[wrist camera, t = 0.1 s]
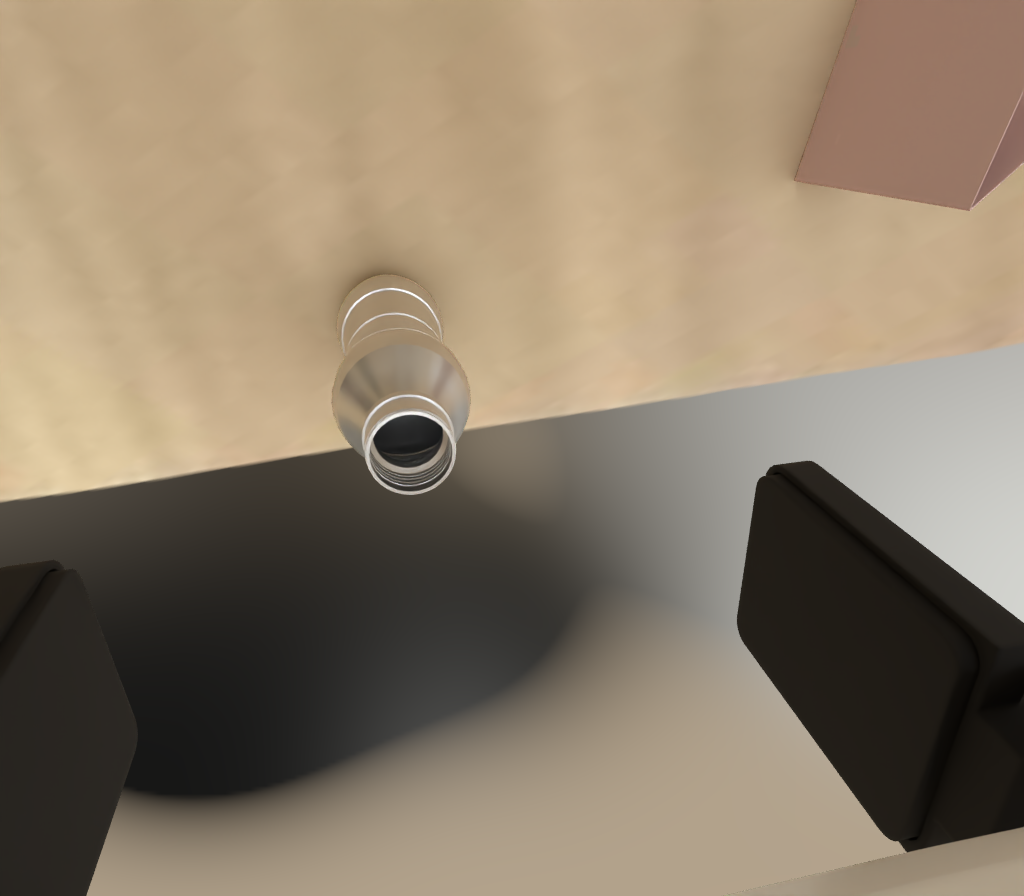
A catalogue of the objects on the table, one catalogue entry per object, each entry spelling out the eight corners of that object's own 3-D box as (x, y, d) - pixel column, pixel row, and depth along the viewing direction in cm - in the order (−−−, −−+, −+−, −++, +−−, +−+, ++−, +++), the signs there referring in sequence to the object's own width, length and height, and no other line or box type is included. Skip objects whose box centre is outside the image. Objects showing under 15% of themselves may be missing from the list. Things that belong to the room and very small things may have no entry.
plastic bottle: (350, 375, 46) (348, 542, 28) (326, 274, 43) (307, 390, 25) (446, 358, 47) (502, 510, 29) (429, 257, 44) (480, 359, 26)
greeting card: (800, 190, 47) (976, 224, 33) (743, 100, 43) (912, 98, 30) (939, 59, 45) (1184, 40, 32) (890, -46, 41) (1141, -116, 28)
